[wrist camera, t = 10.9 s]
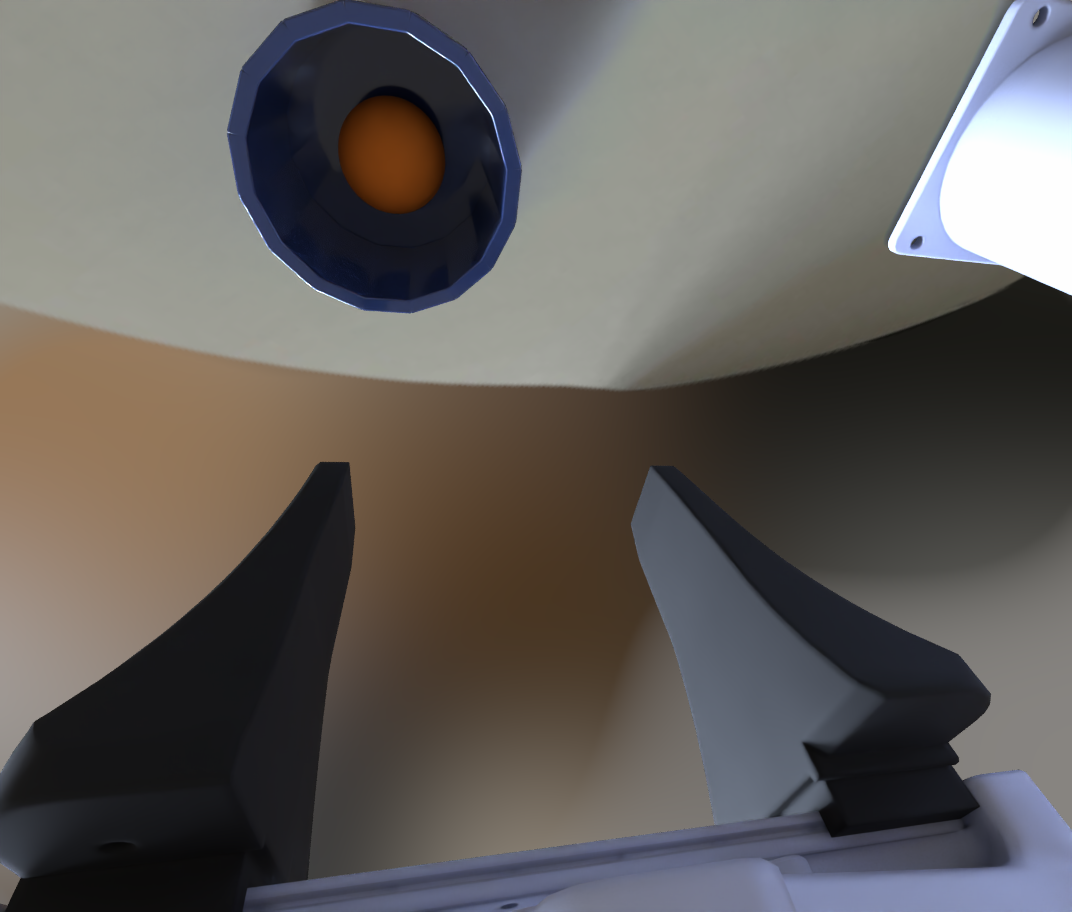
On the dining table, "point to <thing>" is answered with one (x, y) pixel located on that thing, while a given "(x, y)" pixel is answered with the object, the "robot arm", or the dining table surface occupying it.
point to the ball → (391, 154)
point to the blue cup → (315, 172)
